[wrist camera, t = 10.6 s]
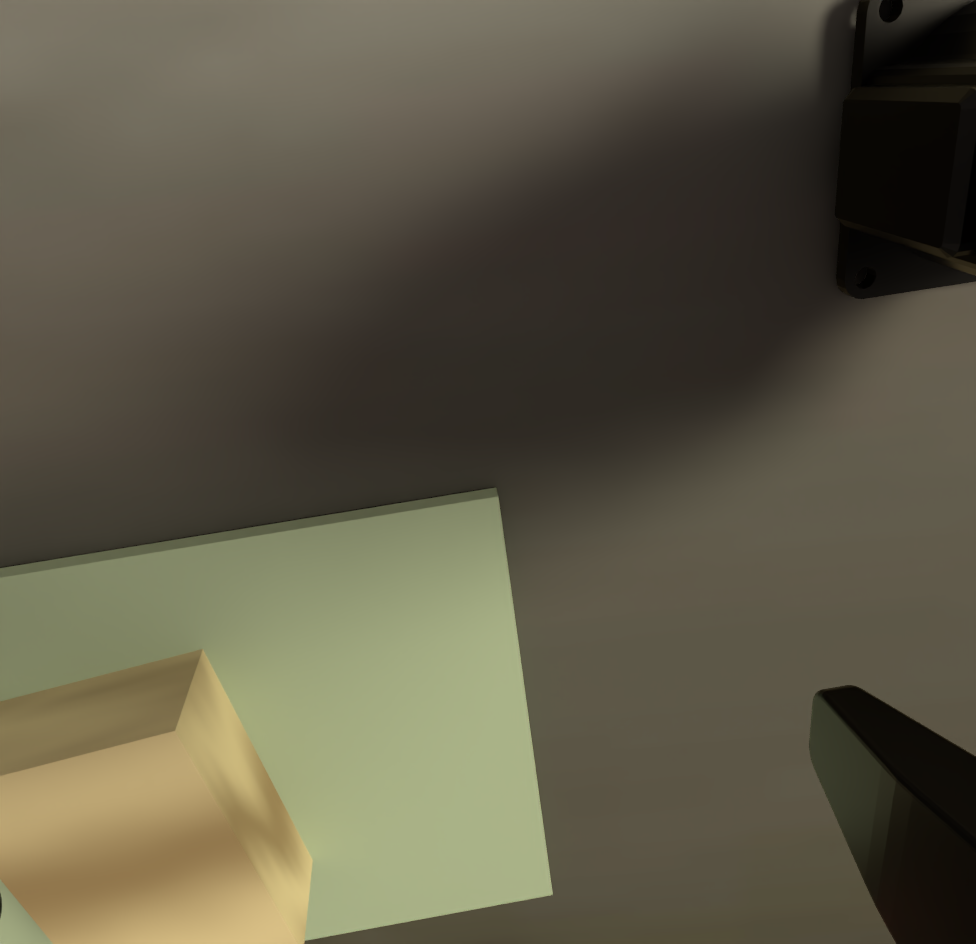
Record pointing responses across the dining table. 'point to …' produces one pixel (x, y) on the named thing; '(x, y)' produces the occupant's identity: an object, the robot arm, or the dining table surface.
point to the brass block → (146, 814)
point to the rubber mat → (330, 690)
